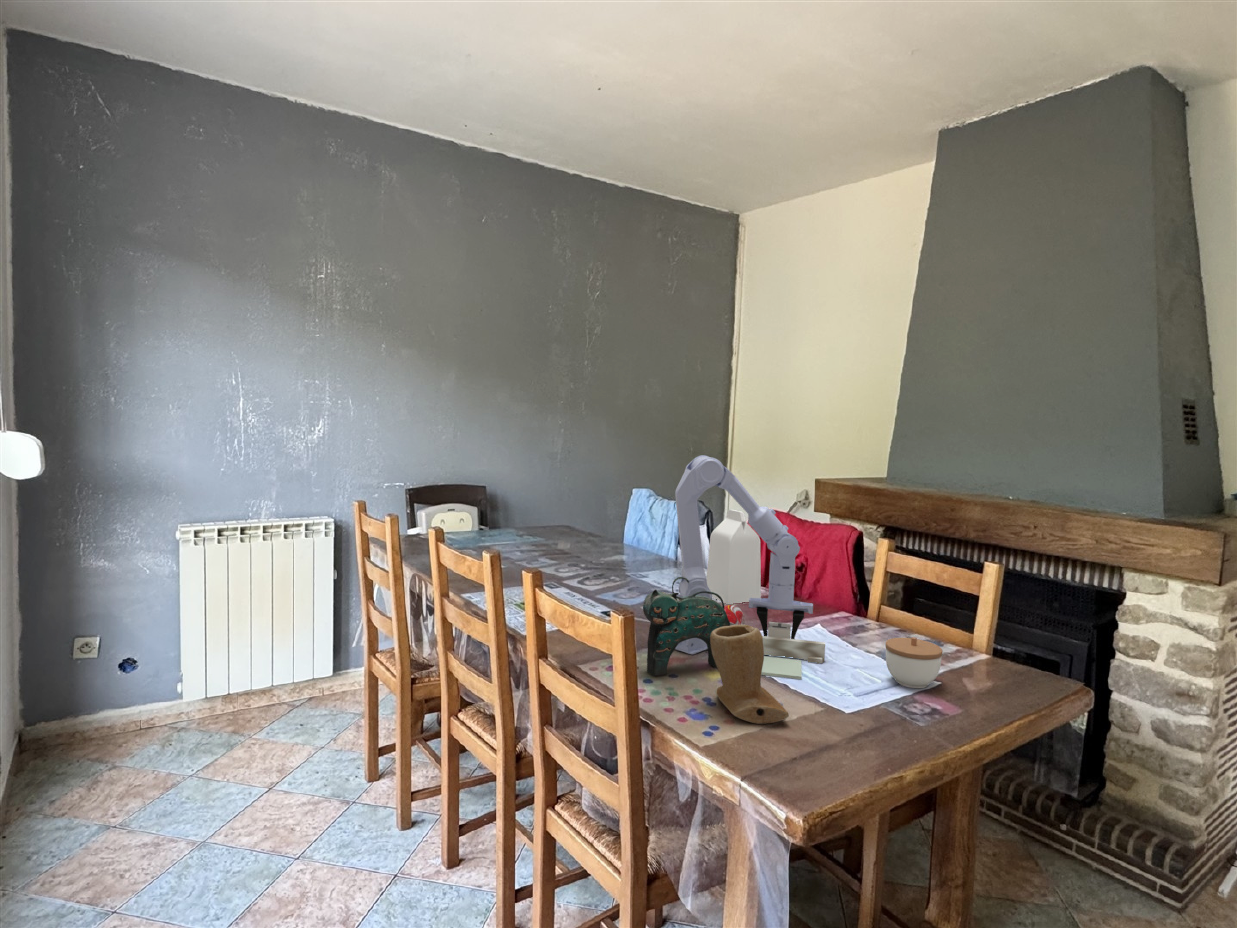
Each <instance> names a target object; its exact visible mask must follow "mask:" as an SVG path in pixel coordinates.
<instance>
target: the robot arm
mask: <svg viewBox="0 0 1237 928" xmlns="http://www.w3.org/2000/svg"><path fill="white" fill-rule="evenodd" d="M683 472H684V473H683V474H682V476H681V478H680V481H679V483H678V484H677V487H675V488H676V489H675V493H674V496H675V505H676V508H675V509H676V516H677V525H678V538H679V547H680V557H681V565H682V567H681V570H680V571H681V572H680V573H681V574H680V575H681V577H685V578H687V579H688V580H689V583H688V582H687V581H686V580H685V579H680V583H679V586H678V593H679V595H680V597H684V596H690V595H693V594H695V593H697V592H700V591H710V592H711V590H710V589H709V588H708V585H707V580H706V579H707V574H706V573H705V569H704V558H703V551H702V539H701V529H700V527H701V526H700V518H699V508H698V499H700V497H701V496H702V495H704V493H705V492H707V491H706V490H708V489H711V488H713V487H714V486H715V487H718V488H719V489H722V490H725V491H726V492H727V493H728V494H729V496H730V497H732V499H733V500H735V502H737V504H738V505H739V506H740V507H741V508H742V509H743V510H744V512H745V513H746V514H748V515H747V516H748V517H747V522H748V523H747V524H748V525H749V526H750V527H751V528H752V529H753V530H754V531H755V532H756V533H757V535H758V536H759V538H761V539H762V541H763V542H764V543H766V546H767V549H768V550H770V551H771V552H770V561H769V572H768V573H769V576H768V578H769V579H768V597H766V598H765V597H761V598H749V603H748V608H749V609H753V608H756V614H757V617H758V620H759V622H760V626H761V628H762V632H763V633H762V634H763V636H768V615H769V610H777V611H788V612H792V623H791V626H792V627H791V632H790V639H796V635H797V632H798V630H799V627H800V626H801V623H802V621H803V620H804V618H805V613H807V614H809V615H810V614H811V615H813V613H814V612H813V611H814V603H813V602H812V603H810V602H804V601H798V600H794V596H795V595H794V594H795V579H796V577H795V576H796V574H795V573H796V557H797V556H798V554H799V552H800V550H801V546H799V541H798V539H797V538H796V537H795V536H794V535H793V534H790V533H789V532H788V530H789V527H788V526H787V525H786V524H783V523H782V522H781V521H780V519H779V518H777V516H776V515H777V514H776V511H775V510H774V509H773V508H769V507H768V506H765V505H764V506H762V505H759V504H758V502H757V501H756V500H755V498H753V496H752V495H751V494H750V493H749V492H748V490H747V488H745V486H743V483H742V482H741V481H740V480H739V479H738V477H736V475H735V474H733V472H732V471H731V470H729V468H727V467H726V466H724V465H723V463H722V462H721V461H720V460H719V459H717V458H715V457H710V456H708V455H705V454H703V455H698V456H696V457H695V458H693V459H692V460H691V461H690V462H689V463H688V464H687V465H686V466H685V469H684V471H683ZM697 595H698V596H704V597H708V598H710V599H712V600H713V598H712V594H708V593H700V594H697ZM674 650H676V651H680V652H681V653H682V652H683V653H685V654H688V655H695V654H698V653H700V652H703V651H707V650H708V648H707V644H706V643H705V642H704V641H703V640H701V639H699V638H691V639H688V640H685V641H682V642H680V643H679V644H678V645H677V647H676V648H675V649H674Z"/></svg>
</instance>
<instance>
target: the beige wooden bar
mask: <svg viewBox="0 0 1237 928" xmlns="http://www.w3.org/2000/svg"><path fill="white" fill-rule="evenodd" d="M762 638H763V647H764V655H771V656H770V657H772V656H785V657H793V658H799V659H804V660H803V661H807V663H809V662H817V663H816V664H819V663H822V664H823V663H825V658H826V657H825V656H826V642H825V641H815V640H807V639H806V640H804V639H796V638H795V639H791V638H790V639H788V638H778V637H768V635H767V636H764V635H762ZM799 659H798V660H799Z"/></svg>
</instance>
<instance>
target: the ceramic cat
mask: <svg viewBox="0 0 1237 928" xmlns="http://www.w3.org/2000/svg"><path fill="white" fill-rule="evenodd" d="M681 579H685V580H686V581H687V582H688V583H689V580H688V579H687V578H685V577H682V576H678V577H676V578H675V579H673V581H672V585H671V592H672V593H667V592H665V591H661V590H657V589H654V590H653V591H652V592H650V593H649V594H647V595H646V596H645V598H644V601H643V605H642V612H643V615H644V616H645V618H646V619H647V620H648V621H649V622H650V624H649V629H648V636H647V656H646V670H647V672H648V673H649V674H650V675H651V676H653V678H654V677H665V676H666V675H667V671H668V666H669V665H668V664H669V661H670V659H671V656H672V655H673V652H674V651H675V650H676V649H675V648H676V647H677V645H678V644H679V643H680V642H682V641H685V640H688V639H691V638H699V639H701V640H703V641H704V642H705V643H706V644H707V648H708V649H707V664H708V665H710V666H711V667H712V668H716V669H718V668H717V665H716V663H715V660H714V658H713V655H712V650H711V643H710V635H711V633H712V631H713V630H715V629H717V628H720V627H723V626H730V622H729V620H728V617H727V614H726V612H725V610H724V608H725V607H724V606H725V604H724V603H723V600H722V598H721V597H720V596H719V595H718V594H717V593H714V592H710V591H700V592H697V593H695V594H693V595H690V596H684V597H682V596H678V595H680V593H679V592H675V591H674V584H675V583H676V581H679V580H681ZM700 593H708V594H713V595H716V596H717V597H718V598H719V599H720V600H721V602H718V601H717V600H715V599H713V598H712V599H710V598H708V597H704V596H698V595H697V594H700ZM720 603H721V604H720Z"/></svg>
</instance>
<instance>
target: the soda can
mask: <svg viewBox="0 0 1237 928" xmlns="http://www.w3.org/2000/svg"><path fill="white" fill-rule="evenodd" d="M724 607H725V608H724V610H725V612H726V614H727V617H728V620H729V622H730V626H731V625H746V624H745V622H746V619H745V615H744V613H743V611H742V610H741V608H740V607H738V606H737V605H735V604H734V605H726V604H725V605H724Z"/></svg>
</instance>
